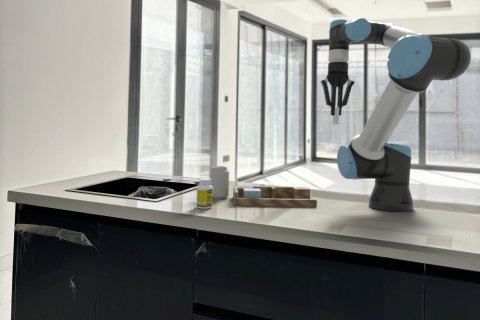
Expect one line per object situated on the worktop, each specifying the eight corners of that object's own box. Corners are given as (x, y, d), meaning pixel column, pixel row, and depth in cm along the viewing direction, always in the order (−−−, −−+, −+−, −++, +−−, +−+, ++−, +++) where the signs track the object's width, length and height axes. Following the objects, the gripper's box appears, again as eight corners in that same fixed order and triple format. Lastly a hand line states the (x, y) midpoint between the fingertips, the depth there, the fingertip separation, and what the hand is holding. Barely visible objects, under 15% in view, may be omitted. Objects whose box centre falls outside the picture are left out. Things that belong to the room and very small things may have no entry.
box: (307, 198, 165) (307, 187, 165) (316, 206, 149) (317, 194, 149) (233, 197, 164) (233, 185, 163) (234, 205, 148) (234, 193, 147)
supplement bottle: (208, 209, 140) (208, 180, 139) (193, 208, 142) (194, 179, 141) (214, 206, 145) (215, 178, 144) (200, 205, 147) (201, 177, 146)
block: (258, 201, 157) (259, 188, 157) (260, 204, 151) (261, 191, 151) (242, 201, 157) (243, 188, 156) (244, 204, 151) (244, 190, 150)
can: (226, 199, 158) (226, 168, 157) (206, 198, 160) (207, 167, 159) (230, 196, 166) (231, 166, 165) (212, 195, 167) (212, 165, 166)
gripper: (351, 64, 165) (348, 124, 167) (319, 63, 164) (316, 123, 166) (358, 61, 157) (355, 124, 159) (324, 60, 156) (321, 123, 158)
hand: (335, 124), depth 163 cm, fingers closed
